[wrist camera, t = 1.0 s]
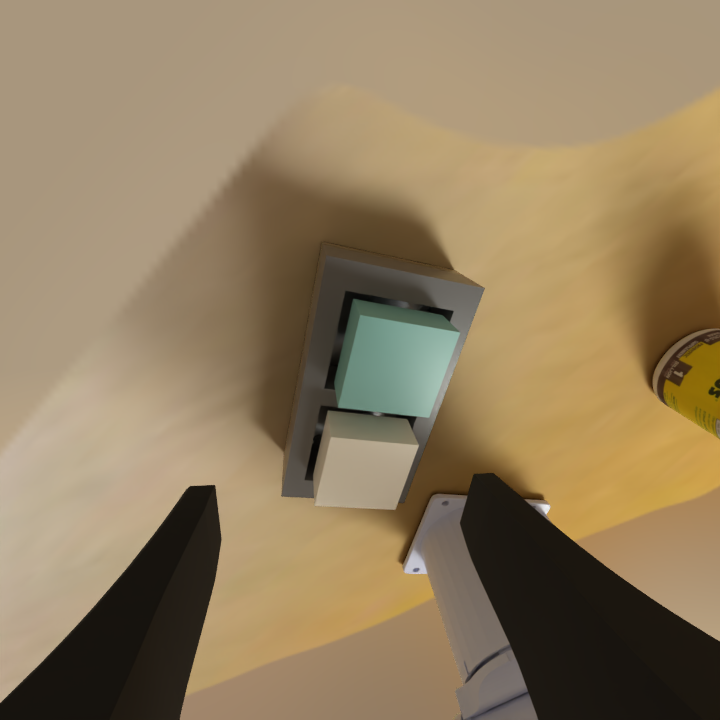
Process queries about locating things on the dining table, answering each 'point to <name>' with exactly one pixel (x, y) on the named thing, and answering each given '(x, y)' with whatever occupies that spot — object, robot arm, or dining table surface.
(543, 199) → the dining table surface
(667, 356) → the supplement bottle
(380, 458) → the key cream
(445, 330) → the key teal
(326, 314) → the bezel
